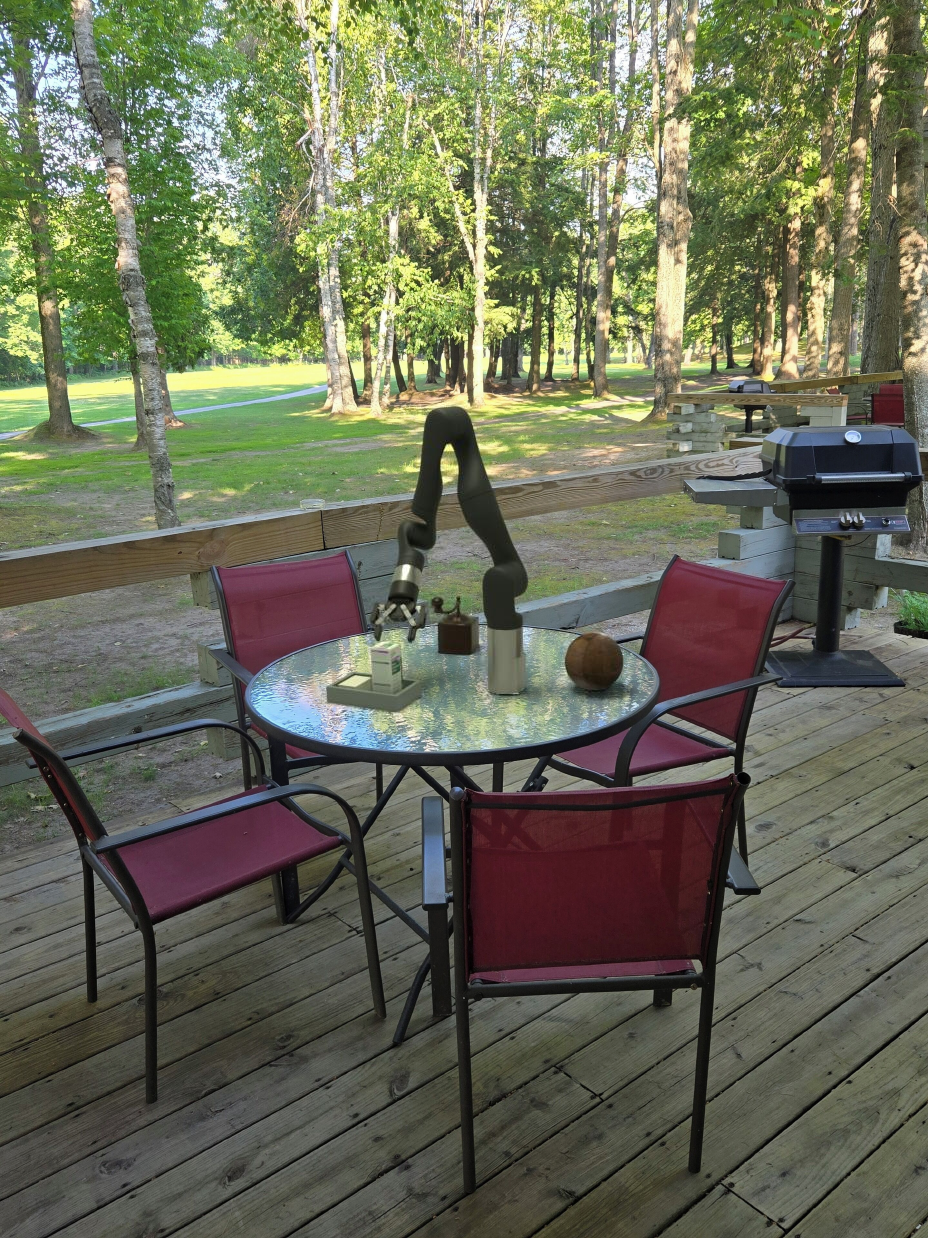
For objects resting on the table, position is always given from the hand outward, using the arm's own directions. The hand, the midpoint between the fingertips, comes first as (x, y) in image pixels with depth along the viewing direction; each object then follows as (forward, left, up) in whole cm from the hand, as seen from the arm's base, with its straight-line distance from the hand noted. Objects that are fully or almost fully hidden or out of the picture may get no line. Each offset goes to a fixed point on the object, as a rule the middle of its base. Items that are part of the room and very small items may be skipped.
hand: (393, 640), depth 227 cm
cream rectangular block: (+9, +5, -14) cm, 17 cm away
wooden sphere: (-45, -25, -15) cm, 54 cm away
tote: (+3, +5, -15) cm, 16 cm away
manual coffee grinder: (+3, -43, -16) cm, 46 cm away
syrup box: (-1, +5, -14) cm, 15 cm away
